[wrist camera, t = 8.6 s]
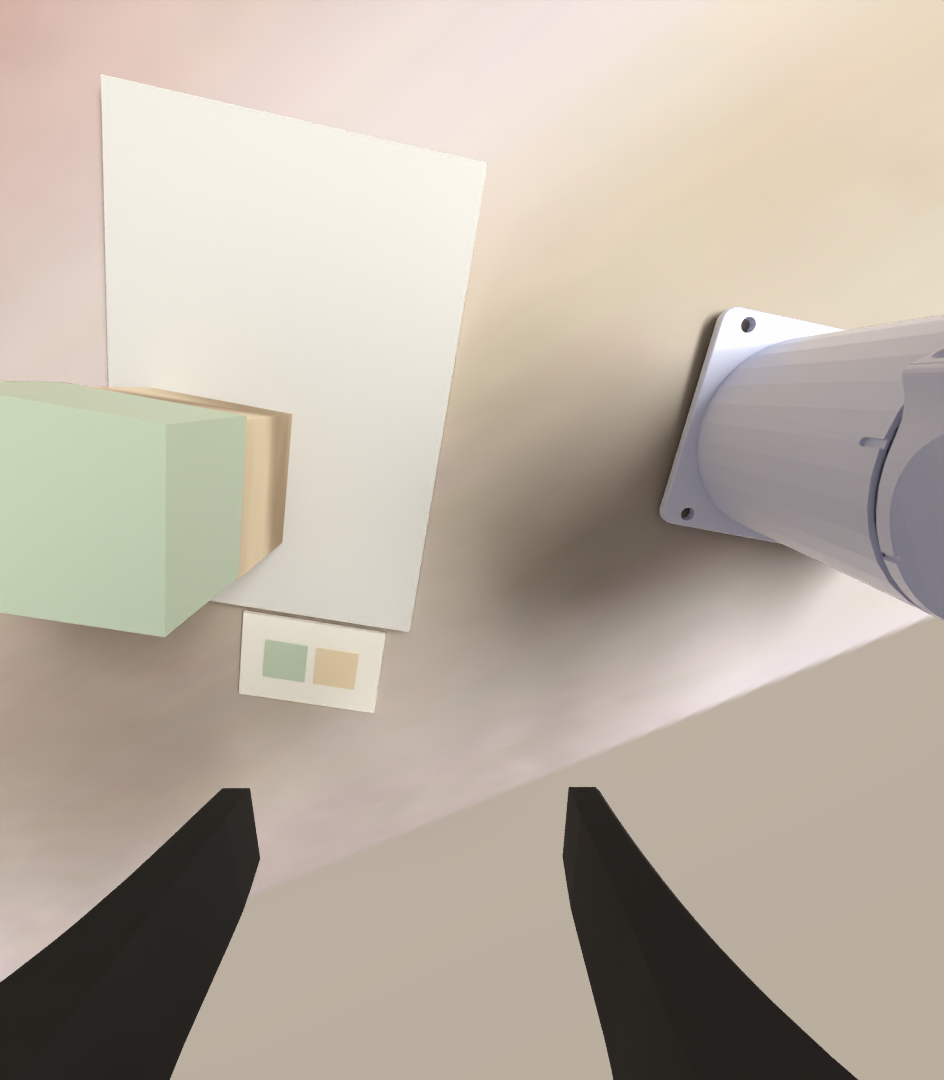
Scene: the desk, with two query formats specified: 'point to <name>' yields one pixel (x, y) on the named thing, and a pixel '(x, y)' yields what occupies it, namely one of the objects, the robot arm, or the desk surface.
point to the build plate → (297, 319)
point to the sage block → (116, 506)
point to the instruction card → (310, 661)
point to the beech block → (250, 470)
